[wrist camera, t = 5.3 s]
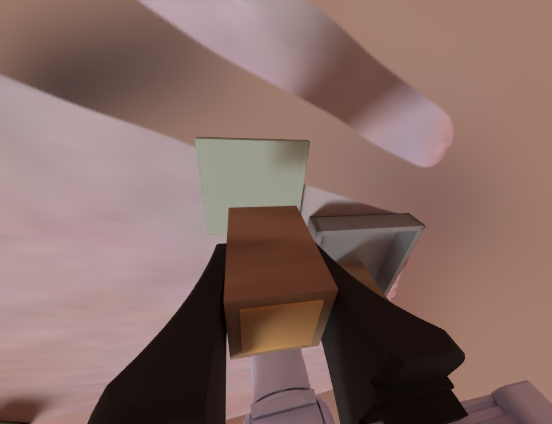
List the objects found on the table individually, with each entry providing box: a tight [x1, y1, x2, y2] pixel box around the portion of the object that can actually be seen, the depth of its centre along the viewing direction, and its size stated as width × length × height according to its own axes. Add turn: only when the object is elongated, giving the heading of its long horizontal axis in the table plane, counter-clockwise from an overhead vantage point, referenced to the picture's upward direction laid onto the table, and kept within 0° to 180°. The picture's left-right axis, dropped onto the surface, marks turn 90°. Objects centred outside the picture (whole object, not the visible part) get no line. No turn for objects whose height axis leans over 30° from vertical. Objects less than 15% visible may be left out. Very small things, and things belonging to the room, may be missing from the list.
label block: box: [224, 206, 338, 360], centre depth 10 cm, size 4×4×6 cm
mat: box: [195, 137, 310, 234], centre depth 19 cm, size 9×9×1 cm
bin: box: [308, 213, 425, 296], centre depth 25 cm, size 13×12×2 cm
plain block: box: [338, 261, 389, 301], centre depth 25 cm, size 4×4×6 cm
